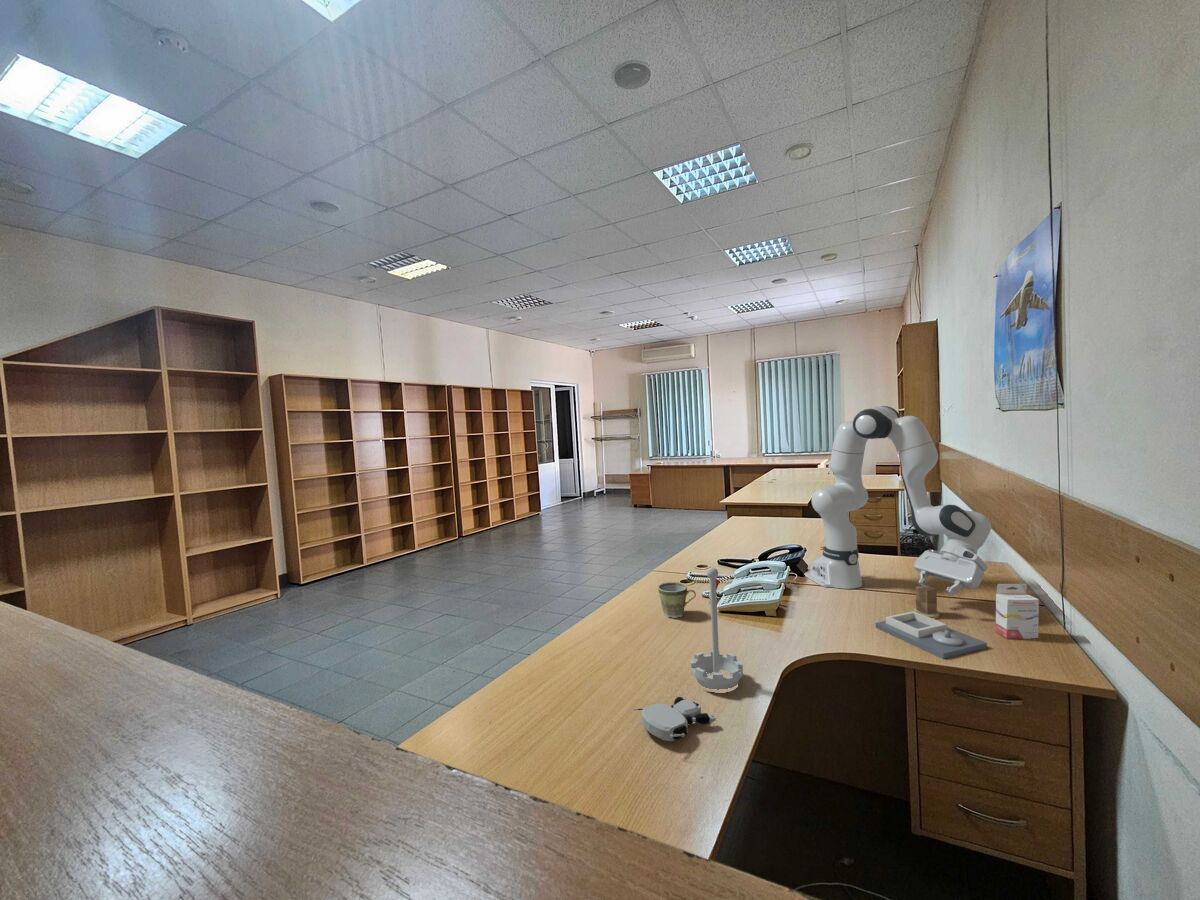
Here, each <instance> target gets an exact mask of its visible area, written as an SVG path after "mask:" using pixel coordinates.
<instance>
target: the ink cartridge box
mask: <svg viewBox="0 0 1200 900" xmlns="http://www.w3.org/2000/svg"><path fill="white" fill-rule="evenodd" d="M1010 588H1016V589H1010ZM1027 588H1028V584H1026V583H998V584H997V586H996V594H995V633H996V634H998V635H1000V636H1001V637H1003V638H1004V639H1006V640H1032V639H1031V638H1038V639H1039V623H1040V621H1039V617H1040V615H1039V614H1040V612H1039V610H1040V599H1039V598H1037V597H1035V596H1032V595H1030V594H1028V593H1027Z"/></svg>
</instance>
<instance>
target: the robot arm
mask: <svg viewBox="0 0 1200 900" xmlns="http://www.w3.org/2000/svg"><path fill="white" fill-rule="evenodd" d="M886 438H888V439H889V440H891V442H892V443H893V445H894V447H895V450H896V453H897V454H898V456H899V457H898V458H899V460H900V463H901V479H902V482H903V485H904V490H905V494H906V497H907V500H908V502H909V503H908V504H909V505H910V513H911V514H910V515H911V517H910V518H911V523H912V526H913V528H914V529H915V531H916V532H918V533H919V534H920V535H922V536H924V537H925V536H926V537H932V536H939V535H945V536H946V538H947V539H946V541H945V543H944V544H943V546H942V547H941V548H940V550H935V549H931V548H930V549H927V550H924V552H923V553H922V554H920V555H919V557H918V558H917V559H916V560H915V562H914V563H913V568H914V569H915V571H917V572H918V573H919V574H920V575H919V577H920V578H919V580H918V584H919V585H920V586H923V585H926V586H927V584H928V581H927V579H926V578H929V576H930V577H932V578H933V577H934V578H936V579H939V580H943V581H947V582H950V583H953V585H951V586H947V587H946V589H945V593H946V594H948V595H950V596H953V595H954V594H955V592H957V591H959V590H961V589H962V588H963V587H967V588H971V589H976V588H978V587H979V586H980V584H981V582H982V581H983V579H984V576H985V572H986V571H987V569H988V566H987V564H986V563H985V562H984V560H983V559H982V558H981V557H980V556H979V555H978V551H979V549H980V548H982V546H984V544H985V542H986V540H987V539H988V537H989V535H990V533H991V530H992V522H991V520H990V519H989V518H988V517H987V516H986V515H985V514H983V513H981V512H978V511H975V510H971V511H970V510H965V509H963V508H962V507H959V506H958V505H955V504H941V505H936V506H933V505H932V504H931V501H930V497H929V495H928V491H927V489H926V485H925V479H926V476H927V475H928V473H929V472H930V471H931V470H933V468H934V467H935V466H936V465H937V462H938V461H939V454H938V449H937V446H936V445H935V442H934V440H933V438H932V437H931V435H930V433H929V430H928V429H927V427H926V426H925V425H924V422H922V420H921V419H920V418H919V417H918V416H914V415H906V416H905V415H904V416H901V415H900V414H899V412H898V411H897V410H896V409H895V408H893V407H891V406H887V405H880V406H878V405H877V406H873V407H870V408H866V409H863V410H861V411H859V412H858V413H857V414H856V415H855V416H854V418H853V420H851V421H844V422H842V423H840V425H838V426H837V430H836V432H835V435H834V439H833V443H832V447H831V455H830V460H829V470H830V471H831V472H832V473H833V475H834V485H829V486H824V487H822V488H820V489H817V490H816V491H814V492H813V494H812V496H811V499H810V500H811V506H812V508H813V509H814V511H815V512H816V513H818V515H819V516H820V518H821V520H822V522H823V526H824V537H825V546H821V547H820V548H821V549H820V550H821V551H822V554H821V555H820V556H818V557H817V558H815V559H814V560H812V561H811V563H810V568H809V569H810V570H809V571H808V570H807V571H805V572H804V573H803V575H805V576H804V577H806V578H807V579H809V580H811V581H813V582H814V583H816V584H818V585H819V586H821V587H824V588H836V589H843V590H844V589H847V590H848V589H849V590H851V589H858V588H861V587H863V577H862V576H861V569H860V561H859V557H860V556H859V553H860V552H859V547H858V535H857V534H858V533H857V532H858V531H857V529H856V526H855V525H854V524H852V522H851V520H850V516H849V512H852V511H857V510H859V509H861V508H862V507H864V506H865V505H866V504H867V503H868V500H869V493H868V490H867V488H866V487H865V486H864V483H863V478H862V471H863V470H862V469H863V462H864V457H865V450H866V444H867V442H868V440H875V439H877V440H878V439H886Z"/></svg>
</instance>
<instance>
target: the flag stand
mask: <svg viewBox="0 0 1200 900" xmlns="http://www.w3.org/2000/svg"><path fill="white" fill-rule="evenodd" d="M706 576H707V577H708V578H709V590H710V592H709V594H710V595H709V596H710V597H709V598H710V616H711V619H710V621H711V641H712V643H711V644H712V649H710V650H709V654H704V652H703V651H700V652H696V653H695V654H694V658H690V672H691V674H692V675H693V676H694V677H695V678H694V679H696V681H697V682H698V683H699V684H700V685H701V686H703V687H705V688H709V689H717V690H719V689H728V688H732V687H734V686H736V685H737V684H738V682H739V683H740V679H741V678H742V677H743V675H744V669H743V660H741V659H739V660H737V655H736V654H734V653H731V652H727V653H726V655H725V654H720V653H721V651H720V649H719V628H718V627H719V625H718V624H719V622H718V603H717V601H718V600H717V589H718V586H719V584H720V582H721V581H720V580H719V579H717V578H718V576H719V571H718V569H717V568H716V567H713V566H712V567H709V568H707V570H706ZM720 670H721V671H723V670H724V671H727V672H729V673H730V676H727V677H723V672H724V671H723V672H722V673H720ZM706 672H707V673H706ZM712 672H713V673H712ZM709 673H710V674H711V673H712V674H713V677H712V675H711V676H710V674H709ZM707 674H708V675H707Z"/></svg>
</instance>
